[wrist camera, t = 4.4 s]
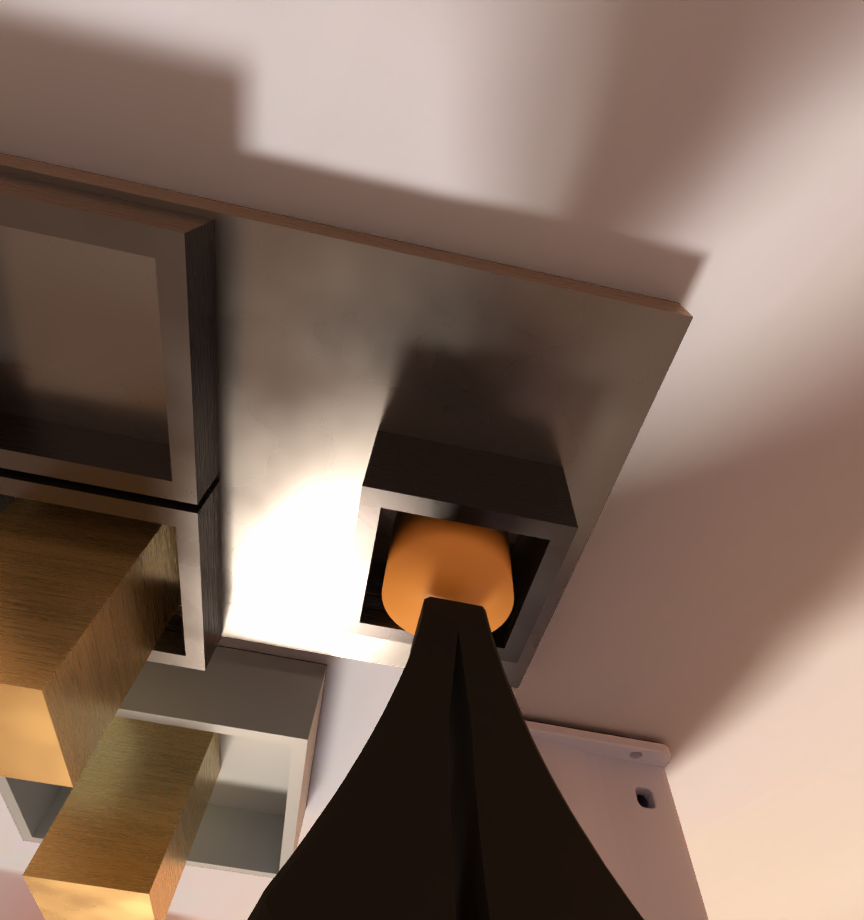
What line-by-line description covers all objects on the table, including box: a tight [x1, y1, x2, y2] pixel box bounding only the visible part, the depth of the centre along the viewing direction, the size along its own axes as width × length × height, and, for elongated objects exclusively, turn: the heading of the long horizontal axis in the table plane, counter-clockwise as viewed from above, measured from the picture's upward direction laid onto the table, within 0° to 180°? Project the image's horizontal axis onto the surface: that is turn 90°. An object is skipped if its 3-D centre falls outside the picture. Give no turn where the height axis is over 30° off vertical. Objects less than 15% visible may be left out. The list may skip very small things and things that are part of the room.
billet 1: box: [0, 497, 181, 787], centre depth 15 cm, size 4×4×6 cm
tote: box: [0, 646, 327, 878], centre depth 23 cm, size 12×12×3 cm
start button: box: [382, 511, 514, 635], centre depth 14 cm, size 3×3×2 cm
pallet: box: [0, 153, 693, 688], centre depth 15 cm, size 20×14×4 cm
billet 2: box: [22, 716, 221, 920], centre depth 21 cm, size 4×4×6 cm
